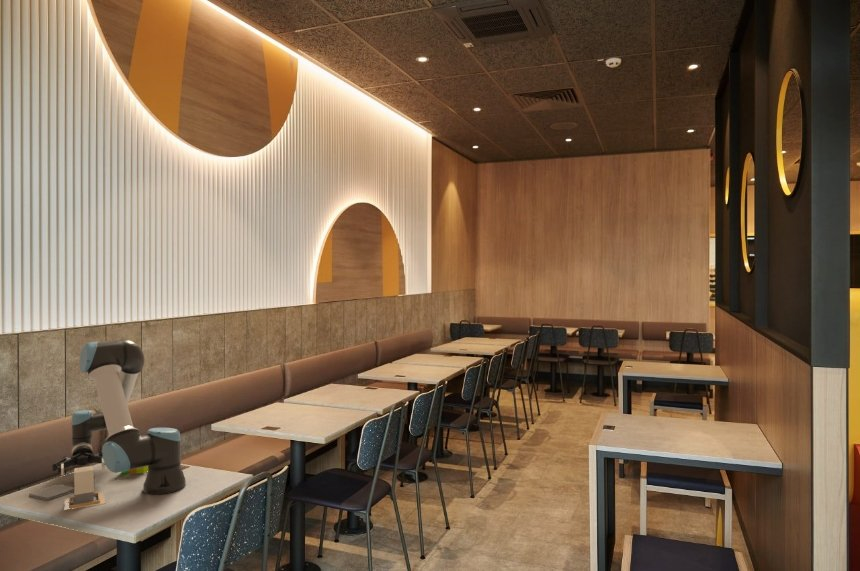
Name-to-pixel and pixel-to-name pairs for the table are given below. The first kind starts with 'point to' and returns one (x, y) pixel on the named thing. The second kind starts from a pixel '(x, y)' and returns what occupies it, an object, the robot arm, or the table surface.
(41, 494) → the slate board
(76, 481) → the beige and grey block
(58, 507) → the table surface
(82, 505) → the tan square frame
